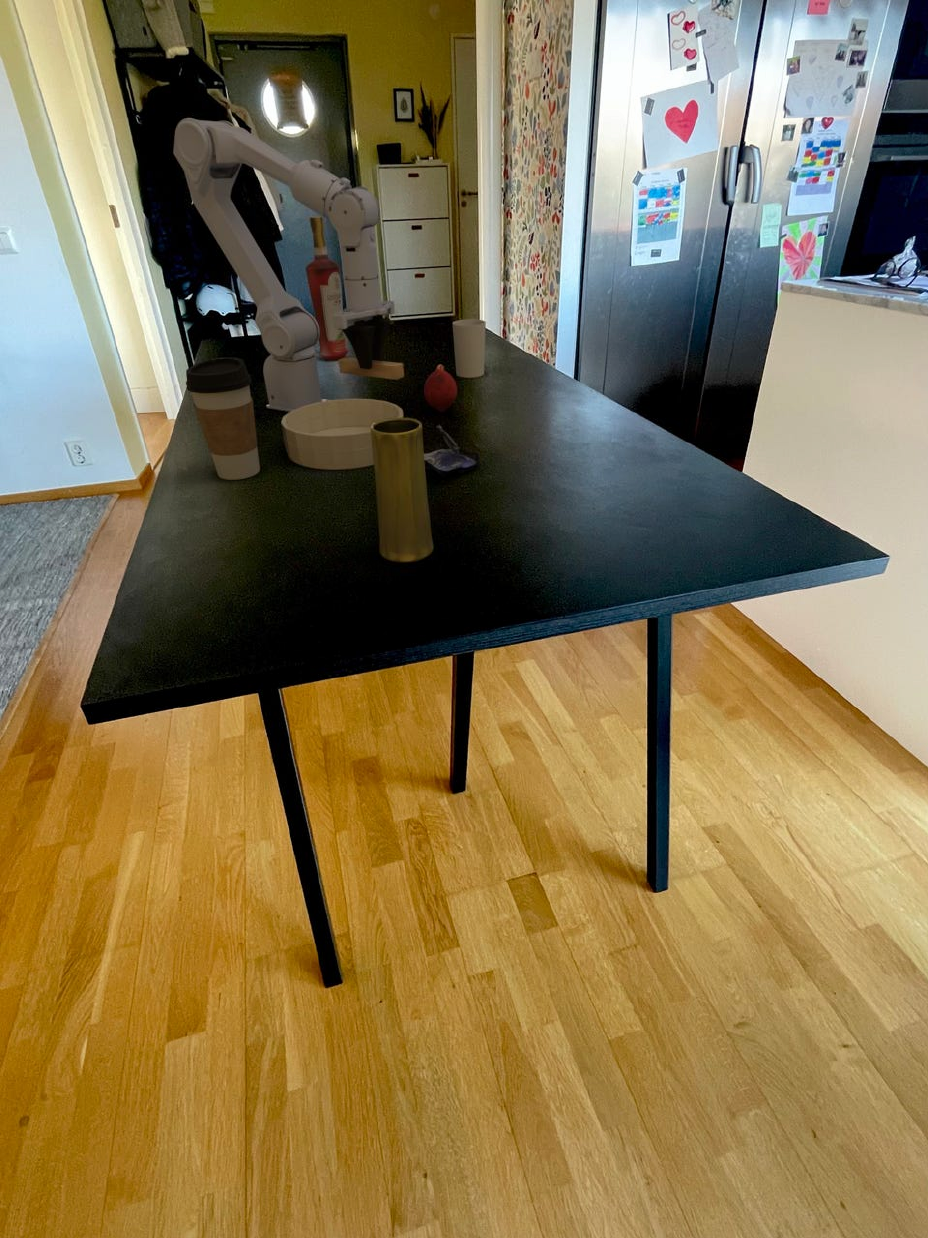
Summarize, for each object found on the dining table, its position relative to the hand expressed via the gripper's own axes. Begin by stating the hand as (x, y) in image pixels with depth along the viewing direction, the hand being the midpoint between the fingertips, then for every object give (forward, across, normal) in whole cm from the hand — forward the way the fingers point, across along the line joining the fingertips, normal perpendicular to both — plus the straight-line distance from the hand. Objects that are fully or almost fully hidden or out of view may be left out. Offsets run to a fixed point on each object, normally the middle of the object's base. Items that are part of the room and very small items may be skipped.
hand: (370, 366), depth 113 cm
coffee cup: (+8, -32, +2) cm, 33 cm away
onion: (+8, +5, -11) cm, 14 cm away
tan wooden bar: (+1, 0, 0) cm, 1 cm away
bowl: (+8, -17, -6) cm, 20 cm away
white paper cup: (+8, +30, -3) cm, 31 cm away
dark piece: (+8, -18, -23) cm, 31 cm away
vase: (+8, -41, -33) cm, 53 cm away
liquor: (+8, +31, +33) cm, 46 cm away
